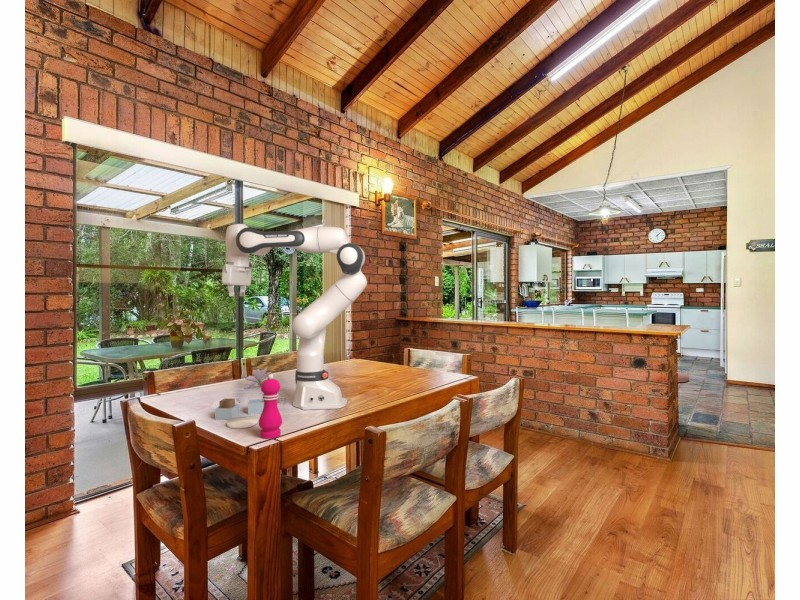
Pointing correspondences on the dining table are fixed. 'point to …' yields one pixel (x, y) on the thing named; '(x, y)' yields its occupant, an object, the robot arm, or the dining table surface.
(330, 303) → the robot arm
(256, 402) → the sleeve
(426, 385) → the dining table surface
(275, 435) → the pepper mill
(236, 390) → the dining table surface
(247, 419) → the plate
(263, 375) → the water lily
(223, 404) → the walnut block
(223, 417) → the sleeve
